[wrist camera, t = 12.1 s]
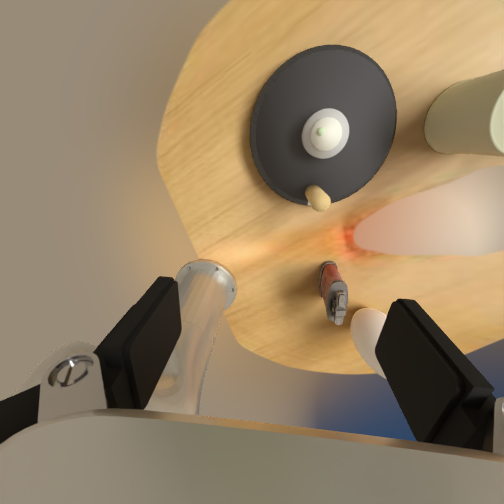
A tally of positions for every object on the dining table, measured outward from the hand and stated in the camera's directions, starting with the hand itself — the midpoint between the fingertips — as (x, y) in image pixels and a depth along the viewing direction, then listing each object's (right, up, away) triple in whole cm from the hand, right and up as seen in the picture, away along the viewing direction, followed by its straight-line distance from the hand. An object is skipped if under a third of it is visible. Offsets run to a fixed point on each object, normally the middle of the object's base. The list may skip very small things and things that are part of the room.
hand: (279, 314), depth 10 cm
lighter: (+14, -2, +36) cm, 38 cm away
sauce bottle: (+22, -10, +39) cm, 45 cm away
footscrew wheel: (+9, +20, +24) cm, 33 cm away
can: (+28, +22, +23) cm, 43 cm away
